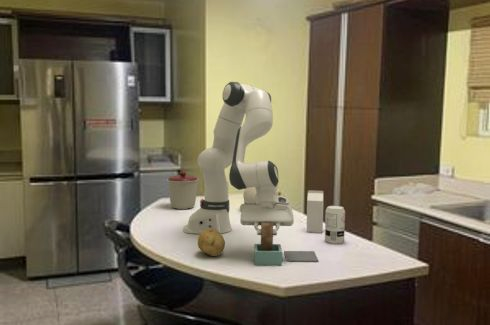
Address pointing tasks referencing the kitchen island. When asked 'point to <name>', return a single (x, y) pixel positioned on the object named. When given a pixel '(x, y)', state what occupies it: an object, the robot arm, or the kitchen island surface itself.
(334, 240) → the supplement can
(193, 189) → the canister
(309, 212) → the milk carton
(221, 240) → the potato
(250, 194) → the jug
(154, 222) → the kitchen island surface
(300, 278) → the kitchen island surface
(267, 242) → the walnut peg
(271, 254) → the tub
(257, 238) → the kitchen island surface
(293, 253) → the mat
